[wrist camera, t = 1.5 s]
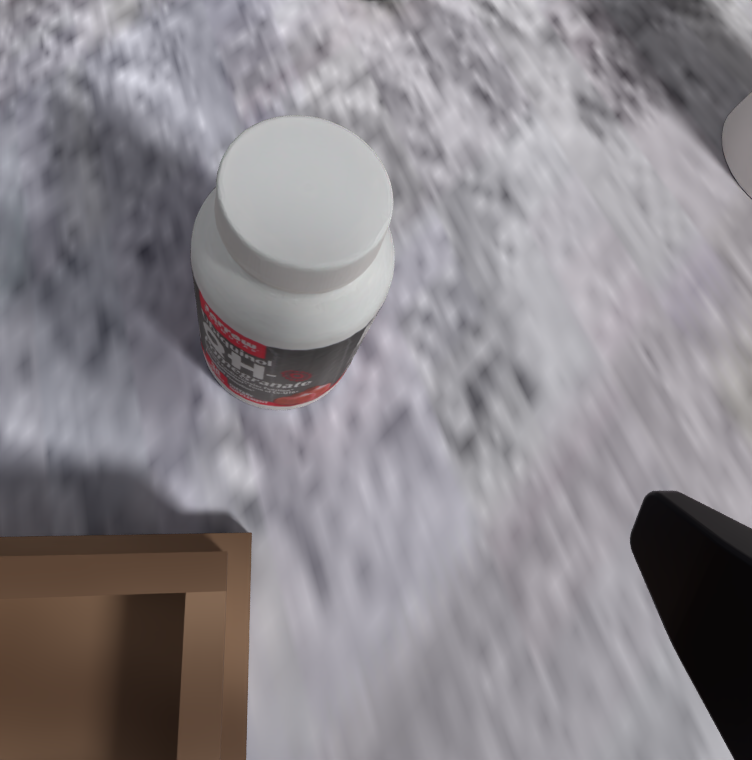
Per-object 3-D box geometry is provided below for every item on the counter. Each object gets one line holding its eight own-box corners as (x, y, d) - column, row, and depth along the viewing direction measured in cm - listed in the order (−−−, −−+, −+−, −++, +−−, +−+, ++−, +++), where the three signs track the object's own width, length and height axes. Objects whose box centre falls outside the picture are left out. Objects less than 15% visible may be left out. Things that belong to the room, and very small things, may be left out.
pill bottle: (188, 401, 22) (157, 271, 13) (215, 263, 24) (204, 61, 15) (343, 424, 23) (416, 317, 14) (358, 289, 25) (433, 114, 15)
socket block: (241, 899, 18) (244, 981, 14) (-170, 954, 16) (-292, 1066, 12) (250, 534, 21) (254, 524, 17) (-94, 541, 19) (-174, 529, 15)
